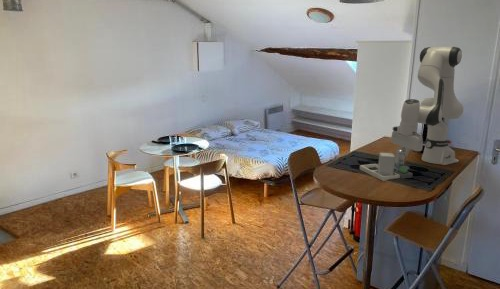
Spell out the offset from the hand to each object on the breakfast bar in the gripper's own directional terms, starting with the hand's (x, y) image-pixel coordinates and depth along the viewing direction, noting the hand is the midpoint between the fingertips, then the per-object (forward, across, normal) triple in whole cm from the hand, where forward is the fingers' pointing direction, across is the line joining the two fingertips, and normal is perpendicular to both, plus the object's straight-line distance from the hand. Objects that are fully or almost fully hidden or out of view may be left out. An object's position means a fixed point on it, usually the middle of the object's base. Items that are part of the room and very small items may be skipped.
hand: (404, 155), depth 210 cm
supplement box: (+13, +4, +8) cm, 16 cm away
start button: (+11, 0, 0) cm, 11 cm away
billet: (+12, +13, -8) cm, 19 cm away
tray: (+12, +13, -8) cm, 20 cm away
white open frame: (+13, +9, +8) cm, 18 cm away
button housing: (+13, 0, 0) cm, 13 cm away
